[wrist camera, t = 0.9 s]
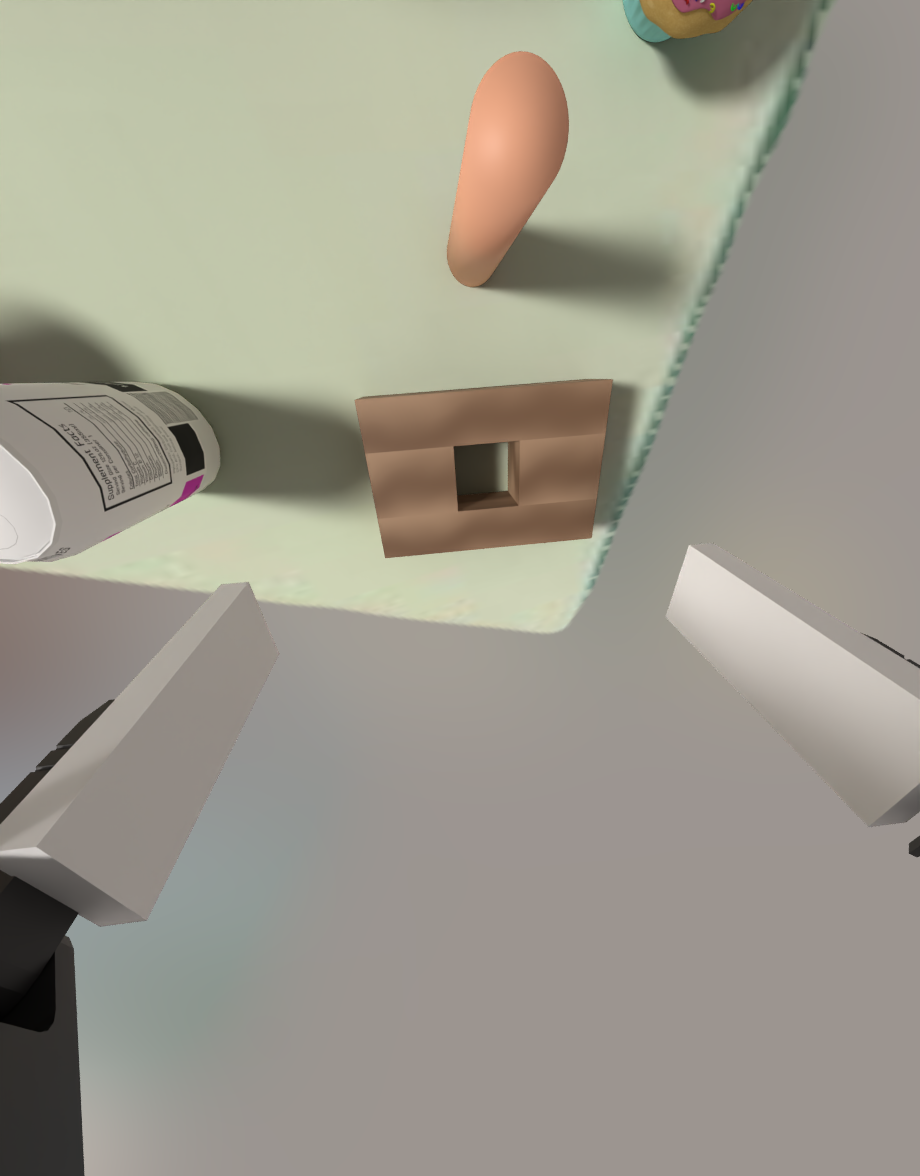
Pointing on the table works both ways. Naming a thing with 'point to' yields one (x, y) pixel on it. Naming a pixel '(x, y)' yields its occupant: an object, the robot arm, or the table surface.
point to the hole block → (478, 416)
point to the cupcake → (680, 17)
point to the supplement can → (94, 462)
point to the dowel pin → (505, 162)
